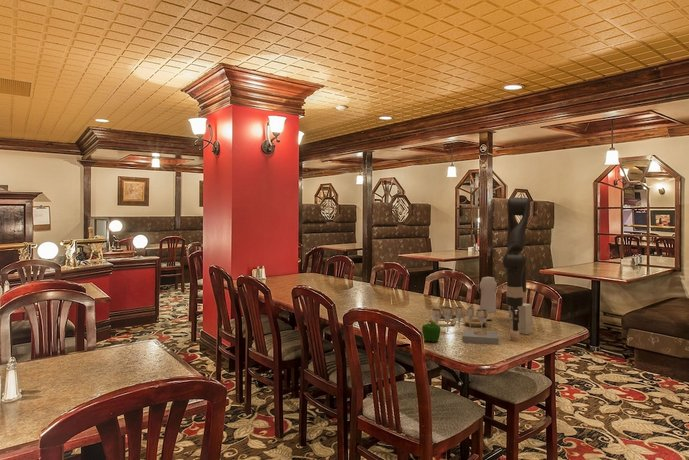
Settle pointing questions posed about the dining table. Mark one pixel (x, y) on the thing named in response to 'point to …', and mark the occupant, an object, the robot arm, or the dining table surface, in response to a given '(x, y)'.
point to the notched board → (480, 337)
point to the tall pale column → (488, 294)
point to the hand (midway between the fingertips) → (514, 328)
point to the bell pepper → (431, 332)
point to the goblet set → (460, 315)
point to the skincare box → (525, 319)
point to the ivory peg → (513, 334)
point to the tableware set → (474, 322)
